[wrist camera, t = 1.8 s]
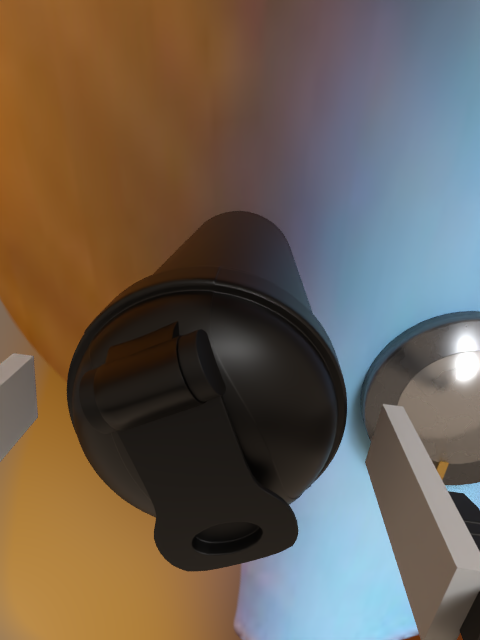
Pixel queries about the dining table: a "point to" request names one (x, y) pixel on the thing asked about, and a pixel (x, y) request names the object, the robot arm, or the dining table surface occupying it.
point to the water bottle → (212, 395)
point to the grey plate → (434, 390)
